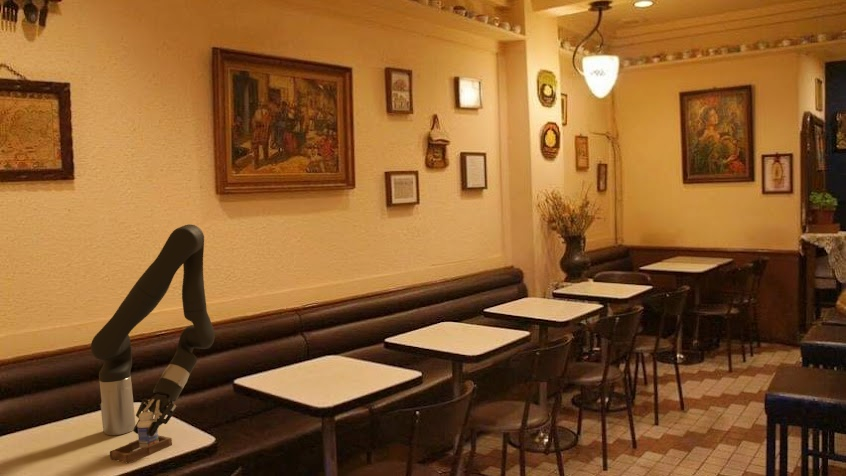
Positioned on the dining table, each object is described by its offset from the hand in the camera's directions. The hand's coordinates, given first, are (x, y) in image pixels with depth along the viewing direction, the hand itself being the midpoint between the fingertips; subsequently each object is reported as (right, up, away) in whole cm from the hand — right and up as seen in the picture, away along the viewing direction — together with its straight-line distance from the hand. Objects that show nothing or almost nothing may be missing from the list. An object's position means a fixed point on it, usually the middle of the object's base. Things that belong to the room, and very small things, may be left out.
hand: (142, 433), depth 205 cm
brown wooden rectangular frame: (0, -5, 0) cm, 5 cm away
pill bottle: (+1, -4, +2) cm, 5 cm away
